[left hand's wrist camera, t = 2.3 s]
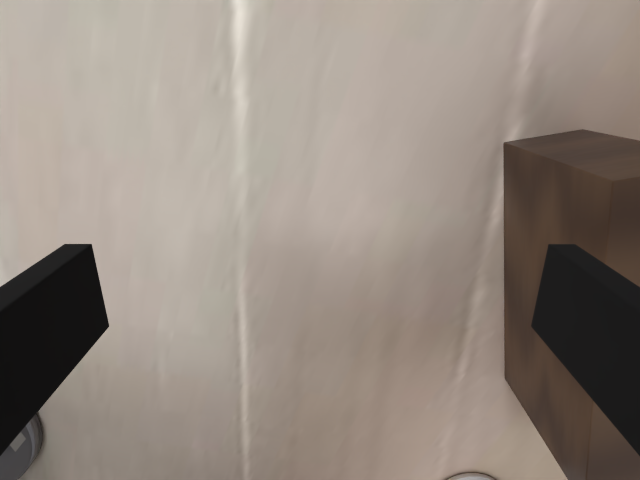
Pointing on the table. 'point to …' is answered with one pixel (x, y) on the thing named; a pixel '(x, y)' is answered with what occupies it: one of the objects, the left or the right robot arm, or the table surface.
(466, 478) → the mug
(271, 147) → the table surface
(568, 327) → the left robot arm
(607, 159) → the box
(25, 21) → the table surface
